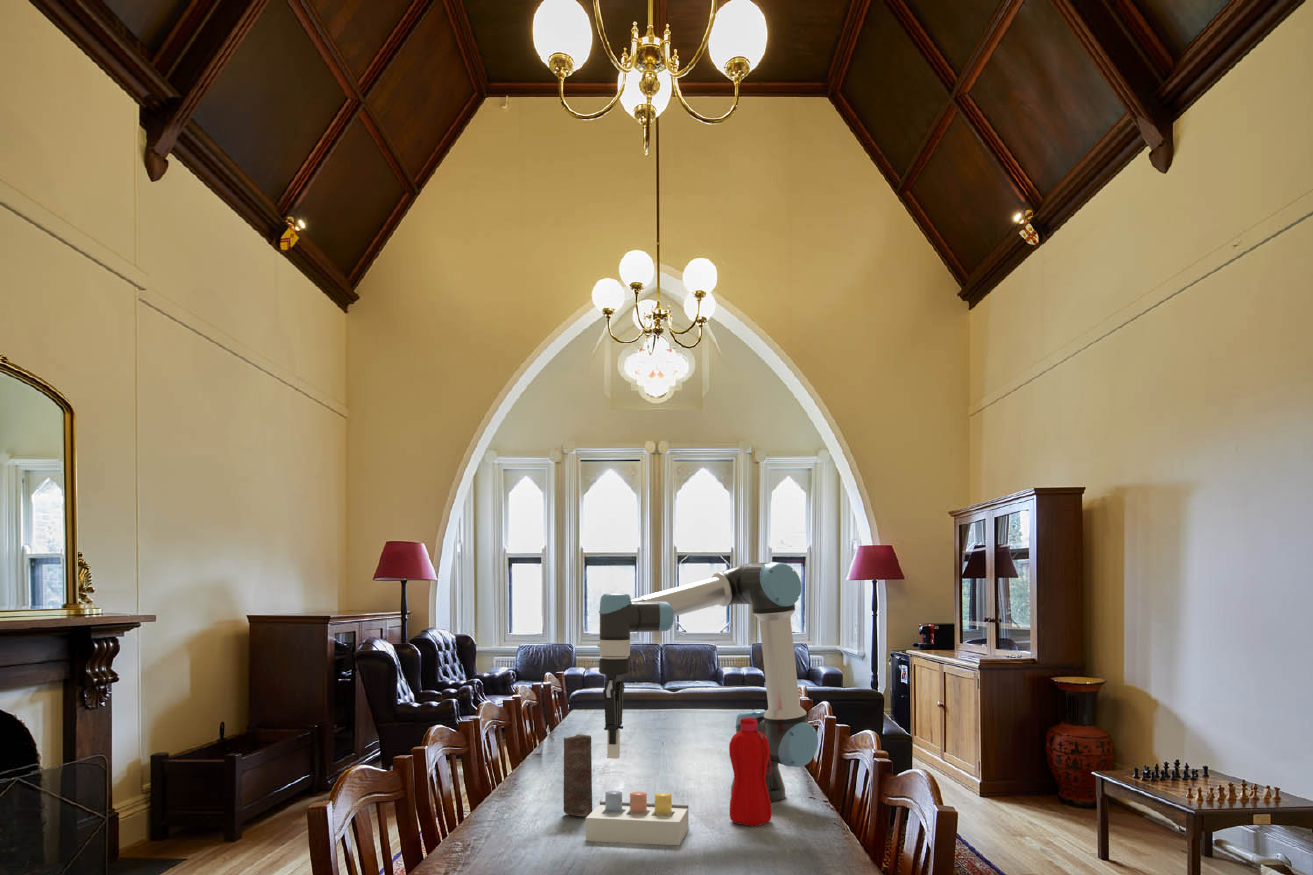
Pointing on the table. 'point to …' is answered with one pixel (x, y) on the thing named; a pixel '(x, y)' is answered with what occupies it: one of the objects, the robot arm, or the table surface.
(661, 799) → the button mustard
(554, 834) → the table surface
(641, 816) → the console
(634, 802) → the button terracotta
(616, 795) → the button slate
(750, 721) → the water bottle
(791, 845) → the table surface
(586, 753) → the brown rounded bar
